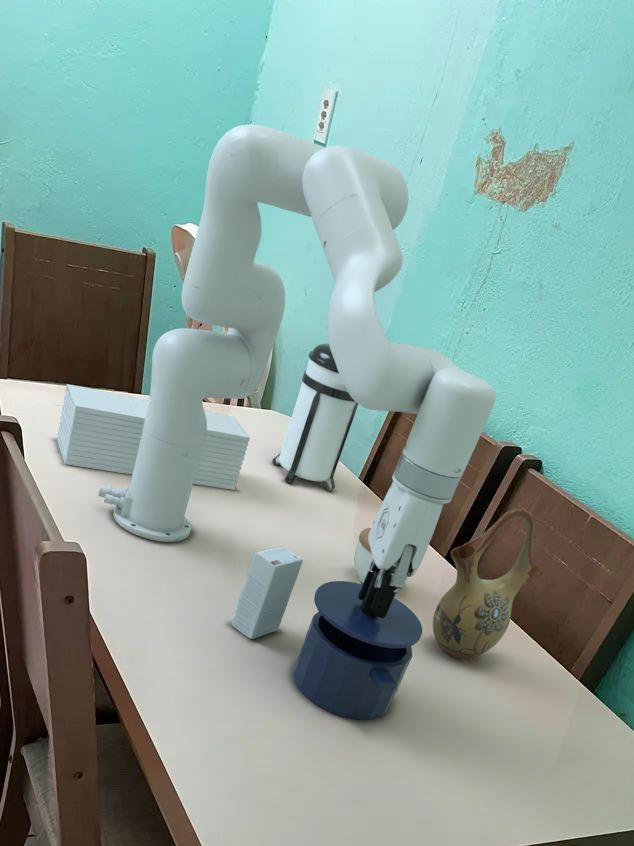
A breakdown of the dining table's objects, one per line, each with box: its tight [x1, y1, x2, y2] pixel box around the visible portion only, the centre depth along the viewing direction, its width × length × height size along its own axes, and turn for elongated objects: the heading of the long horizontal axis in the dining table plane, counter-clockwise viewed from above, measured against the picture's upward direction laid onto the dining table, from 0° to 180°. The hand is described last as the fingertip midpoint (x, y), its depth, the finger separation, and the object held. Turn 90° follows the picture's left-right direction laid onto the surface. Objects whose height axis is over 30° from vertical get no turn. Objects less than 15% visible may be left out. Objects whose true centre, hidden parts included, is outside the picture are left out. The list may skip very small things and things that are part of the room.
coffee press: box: [272, 342, 359, 492], centre depth 178 cm, size 17×16×30 cm
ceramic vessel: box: [432, 508, 545, 660], centre depth 130 cm, size 16×9×25 cm, turn 107°
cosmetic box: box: [231, 545, 304, 640], centre depth 120 cm, size 6×4×12 cm
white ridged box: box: [56, 383, 251, 491], centre depth 160 cm, size 32×11×11 cm, turn 110°
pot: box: [292, 611, 413, 720], centre depth 115 cm, size 14×19×8 cm
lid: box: [313, 570, 423, 648], centre depth 110 cm, size 15×15×7 cm
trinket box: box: [353, 527, 409, 584], centre depth 147 cm, size 11×11×9 cm
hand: (371, 606), depth 111 cm, fingers closed on lid, 2 cm apart
